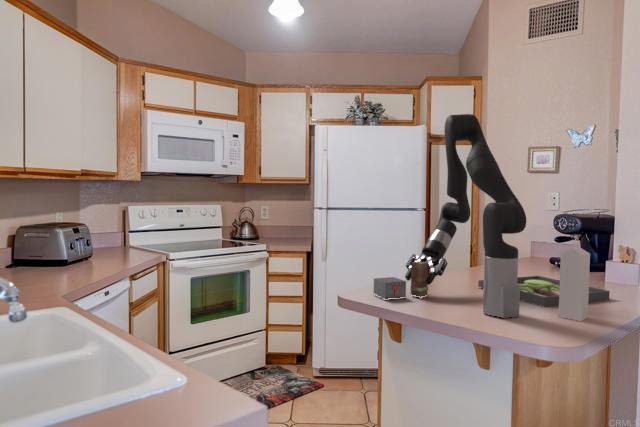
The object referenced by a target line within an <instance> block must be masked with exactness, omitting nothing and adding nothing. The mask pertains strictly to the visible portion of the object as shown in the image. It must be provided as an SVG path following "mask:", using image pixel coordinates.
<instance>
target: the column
mask: <svg viewBox="0 0 640 427" xmlns="http://www.w3.org/2000/svg"><path fill="white" fill-rule="evenodd" d="M428 275H429V269H428V263H427V262H420V261H417V262H411V279H410V295H411V294H412V295H416V296H420V297H421V296H425V295H427V296H428V290H429V286H428V284H427V283H426V281H425V280H426V278H427V277H428Z"/></svg>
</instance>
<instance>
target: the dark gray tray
mask: <svg viewBox="0 0 640 427" xmlns="http://www.w3.org/2000/svg"><path fill="white" fill-rule="evenodd" d="M526 280H543V281H547V282H550V283H552V284H554V285H558V286H560V279H555V278H550V277H546V276H545V277H544V276H541V275H531V276H530V275H529V276H517V284H525V283H524V281H526ZM477 286H478V287H481V288H484V279H478V285H477ZM521 300H524V301H523V302H525V301H527V302H526V303H528V302H530V303H529V304H532V303H534V304H533V305H535V304H537V305H536V306H539V305H541V306H540V307H542V306H548V307H555V306H556V305H557V306H559V294H558V295H548V296H542V295H539V294H535V293H534V294H532V293H530V292H528V291H525V290H520V301H521ZM609 300H610V290H606V289H602V288H597V287H593V286H589V296H588V303H591V302H602V301H609Z"/></svg>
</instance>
